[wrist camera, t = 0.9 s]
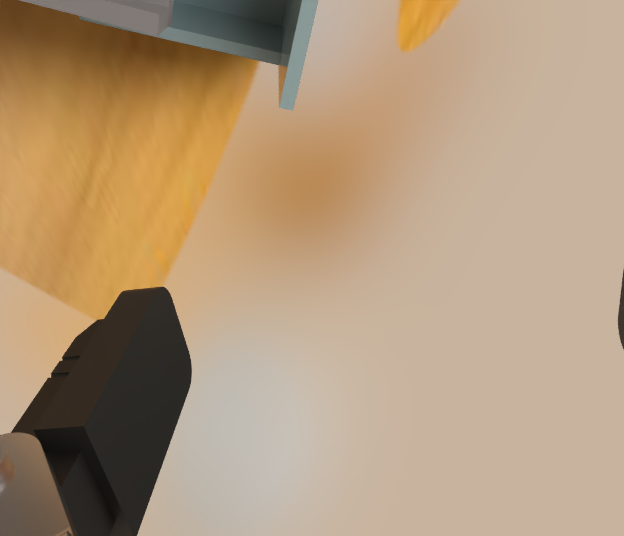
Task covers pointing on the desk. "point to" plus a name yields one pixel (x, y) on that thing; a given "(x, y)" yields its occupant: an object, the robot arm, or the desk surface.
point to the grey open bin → (247, 33)
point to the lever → (119, 12)
